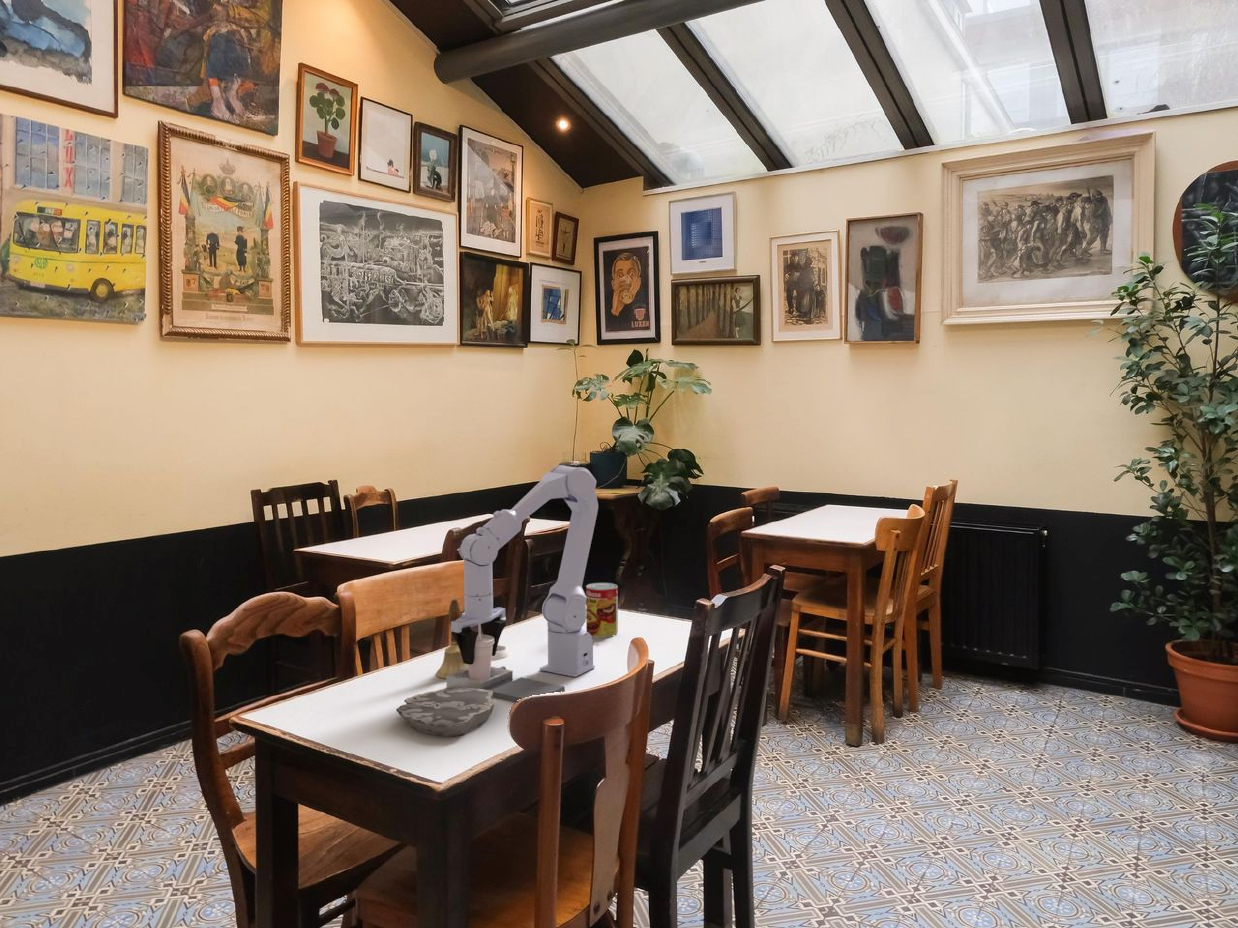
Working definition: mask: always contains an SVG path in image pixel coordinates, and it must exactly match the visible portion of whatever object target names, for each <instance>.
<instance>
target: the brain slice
mask: <svg viewBox="0 0 1238 928" xmlns="http://www.w3.org/2000/svg"><path fill="white" fill-rule="evenodd" d="M493 698H494V697H493V691H491V690H485V689H473V688H453V689H450V688H447V689H439V690H436V691H434V690H433V691H428V692H424V693H420V694H415V695H412V696H411V697H407V698H406V699H404V701H403V702H405V704H402V705H400V706H399V707H397V708H396V710H395V711H396V713H398V715H399V716H400V717H402V719H404V720H405V721H407V722H408V723H409V725H410V726H411V727H413V728H415V729H416V730H417V731H418V732H421V733H422V734H424V733H425V734H426V735H429V736H431V735H432V736H437V735H440V736H441V737H445V738H448V737H459V736H461V734H462V735H463V734H464V735H466V734H468V733H469V732H470V731H472V730H474V729H476V728H477V727H476V726H478V725H479V726H481V725H482V724H483V723H485V722H486V721H487V720H488V719H489V717H491V715H492V714H493V711H494V710H493V709H494V706H495V701H494V699H493ZM480 724H481V725H480ZM479 726H478V727H479ZM475 727H476V728H475ZM473 728H474V729H473ZM471 729H472V730H471ZM468 731H469V732H468ZM465 733H466V734H465Z"/></svg>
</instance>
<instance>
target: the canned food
mask: <svg viewBox="0 0 1238 928" xmlns="http://www.w3.org/2000/svg"><path fill="white" fill-rule="evenodd" d="M585 587H586V591H585V595H586V598H587V600H586V611H587V618H586V621H585V623H586V624H585V625H586V631H585V632H588V633H590V634H591V636H592V638H608V636H611V637H614V636H613V635H615V636H616V634H617V633H618V632H619V626H618V625H619V623H618V622H619V621H618V620H619V617H618V616H619V615H618V614H619V611H618V609H619V607H618V606H619V605H618V602H619V600H618V599H619V598H618V597H619V596H618V594H619V593H618V591H619V588H618V585H617V584H615V583H613V582H593V583H588V584H587V585H585ZM617 635H618V634H617Z"/></svg>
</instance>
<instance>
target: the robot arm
mask: <svg viewBox="0 0 1238 928" xmlns="http://www.w3.org/2000/svg"><path fill="white" fill-rule="evenodd" d="M596 486H597V480H596V478H595V477H594V475H593V474H592V473H591V472H590V470H589V469H587V468H585V467H583V466H582V467H581V466H578V467H576V466H567V465H564V464H559V465H556V466H554V467H552V468H551V470H550V471H548V472H546V473H544V474H543V476H542V478H541V479H540V481H538V483H537V484H535V486H533V488H532V489H530V491H529V492H527V494H526V495H524V496H523V497H522V498H521V499H519V501H518V502H517V503H516V504H514V506H513V507H512V508H511V509H501V510H496V511H494V512H493V514H492V515H493V517H492V518H491V519H489V520H488V522H486V523H485V524H484V525H482V527H481V526H479V527H478V528H477V529H476V530H475V531H476V533H473V534H469V535H467V536H466V537H464V539H462V541H461V544H460V547H458V554H459V556H460V557H461V559H463V569H464V570H463V571H464V572H463V585H464V586H463V588H464V589H463V590H464V592H463V593H464V595H463V596H464V612H462V613H461V617H460V618H458V619H457V620H455V621H453V622H451V626H450V635H451V634H452V635H453V637H454V638H455V640H456V642H457V644H458V646H459V649H460V652H461V656H462V659H463V663H465V664H469V665H471V664H473V662H474V649H475V643H476V639H477V636H478V631H474V630H473V629H471V628H473V627H476V626H477V627H478V625H479V623H481V632H482V635H490V636H493V637H494V642H495V643H494V644H493V649H492V656H495V654H496V652H497V651H496V650H497V645H499V642H500V641H499V640H500V638H501V635H502V633H503V631H504V629H505V627H506V626H507V624H506V623H507V621H506V620H500V618H505V617H506V608H505V607H504V608H503V607H495V608H494V592H493V590H494V586H493V583H494V582H493V562H495V560H496V558H497V556H498V553H499V550H500V549H501V548H503V546H504V545H506V544H507V543H508V542H509V541H511V539H513V538H514V537H515V536H516V535H518V533H520V532H521V530H522V525H523V524H522V523H523V521H524V520H526V519H528V518H529V516H530V515H532V514H533V513H535V512H536V511H537V510H539V508H541V507H542V506H543V505H545V504H546V503H547V502H548V501H550V500H553V499H563V500H564V502H565V503H566V504H567V506H568V507H569V508H570V510H571V515H570V520H569V524H568V529H567V533H566V539H565V544H564V548H563V553H562V558H561V562H560V567H559V571H558V576H557V577H558V578H557V580H556V582H555V583H554V584H553V585H552V586H550V589H549V592H548V595H547V597H546V598H545V599H544V601H543V602H542V606H541V607H542V608H541V613H542V616H543V618H544V619H545V620H546V622H547V664H546V665H545V664H544V665H542V666H541V667H539V670H540V671H543V672H549V673H554V674H559V675H564V676H569V677H573V678H576V677H578V676H580V675H582V674H585V673H586V672H588V671H590V670H593V669H595V668H596V666H595V665H594V640H593V636H591V634H590V633H588V632H586V631H585V630H583V629H582V627H583V626H584V624H585V623H586V618H587V611H586V600H587V598H586V592H585V591H584V589H583V583H584V578H585V574H586V573H585V572H586V569H587V563H588V558H589V556H590V555H589V553H590V549H591V544H592V540H593V535H594V529H595V526H596V520H597V516H598V511H599V501H598V496H597V493H596Z"/></svg>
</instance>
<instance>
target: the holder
mask: <svg viewBox="0 0 1238 928" xmlns="http://www.w3.org/2000/svg"><path fill="white" fill-rule="evenodd" d="M445 680H446V682H445V684H446V685H445V686H446V688H447V689H453V688H473V689H485V690H493V689H495V688H498V687H500V686H502V685H505V684H507V683H509V682H511V681H514V680H513V670H509V669H507V668H506V666H504V665H503V666H501V667H495V666H491V669H490V678H488V679H486V680H483V681H478V680H474V679H470V678H469V671H468V667H467V668H465V669H462V670H460V671H457V672H454V673H452V674H449V675H447V676H446V679H445Z"/></svg>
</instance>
